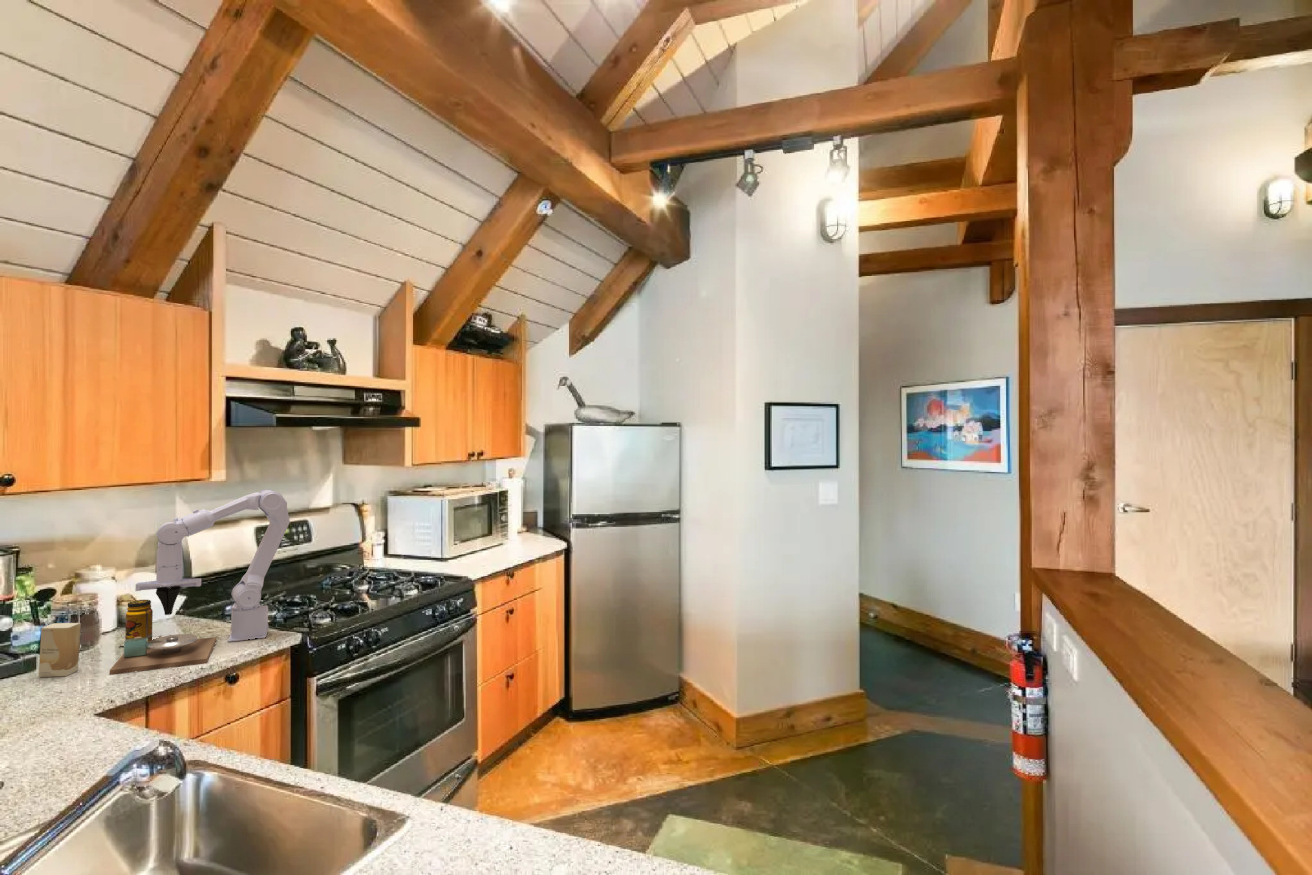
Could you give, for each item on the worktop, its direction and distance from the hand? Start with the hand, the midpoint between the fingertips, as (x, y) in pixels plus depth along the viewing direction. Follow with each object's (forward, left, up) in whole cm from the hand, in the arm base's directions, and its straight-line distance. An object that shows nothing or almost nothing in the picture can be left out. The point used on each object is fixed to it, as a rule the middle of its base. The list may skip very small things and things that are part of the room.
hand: (168, 613), depth 178 cm
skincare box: (+20, +11, -10) cm, 25 cm away
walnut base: (-2, +7, -10) cm, 12 cm away
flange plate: (0, +7, -8) cm, 11 cm away
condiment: (+8, -11, -10) cm, 17 cm away
